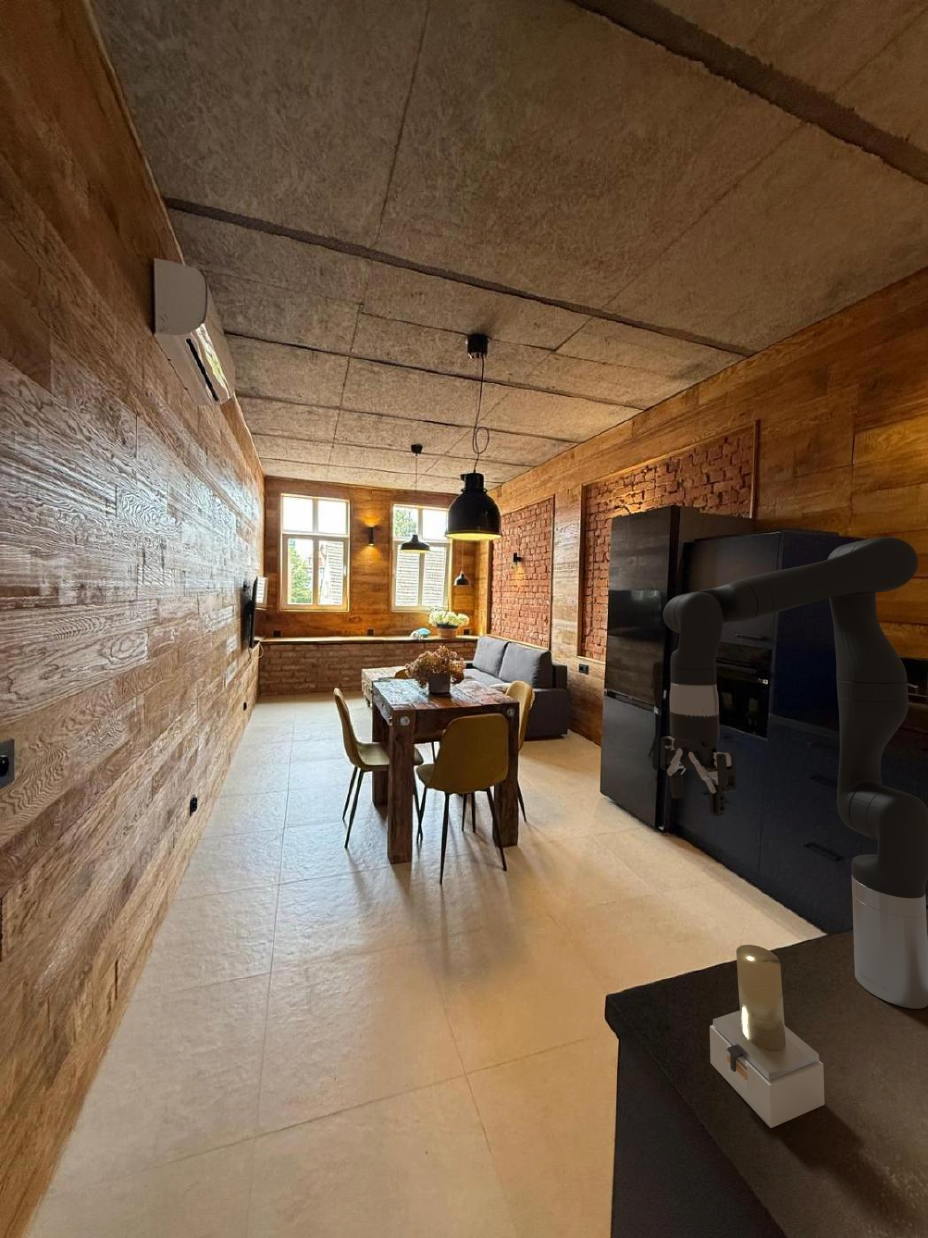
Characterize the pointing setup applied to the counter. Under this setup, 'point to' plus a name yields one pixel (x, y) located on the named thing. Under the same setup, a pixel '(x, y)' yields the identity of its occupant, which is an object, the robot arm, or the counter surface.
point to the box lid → (763, 1059)
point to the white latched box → (769, 1084)
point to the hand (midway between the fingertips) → (696, 806)
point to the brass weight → (761, 997)
